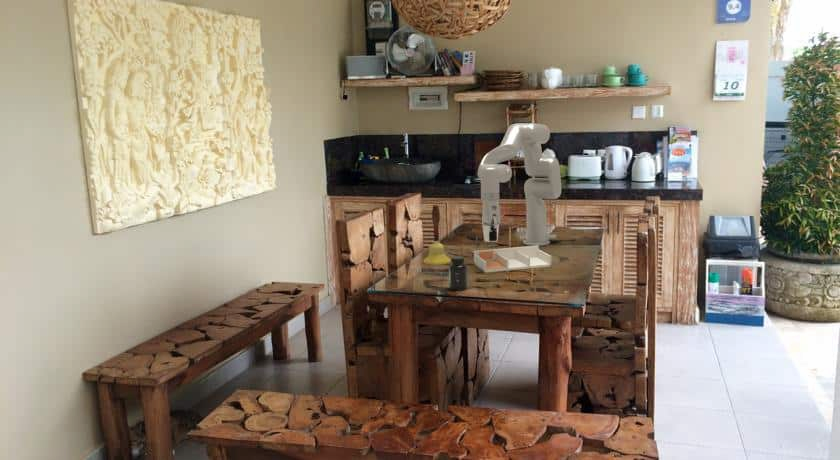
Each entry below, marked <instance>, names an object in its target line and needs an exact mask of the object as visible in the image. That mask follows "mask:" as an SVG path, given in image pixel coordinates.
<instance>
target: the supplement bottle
mask: <svg viewBox="0 0 840 460" xmlns="http://www.w3.org/2000/svg"><path fill="white" fill-rule="evenodd" d="M450 259H451V262H450V263H451V264H450V265H449V266H448V277H449V279H448V283H449V284H448V285H449V289H450V290H451V289H452V291H456V290H460V291H465V290H467V289H468V266H467V264H466V263H465V257H464V256H463V255H462V256H460V255H459V256H451V258H450ZM464 289H465V290H464Z"/></svg>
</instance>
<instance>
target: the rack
mask: <svg viewBox="0 0 840 460" xmlns="http://www.w3.org/2000/svg"><path fill="white" fill-rule="evenodd" d="M539 247H540V246H538V245H537V246H531V245H526V246H517V247H515V246H513V247H503V248H492V249H480V250H473V265H474V266H475V267H477V268H478V269H479V270H481V271H482V272H483V273H485V274H486V273H496V272H504V271H505V272H507V271H517V270H528V269H529V270H530V269H540V268H548V267H549V268H550V267H552V255H550V254H549V253H546V252H545V251H543V250H540V248H539Z"/></svg>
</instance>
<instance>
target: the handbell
mask: <svg viewBox="0 0 840 460" xmlns="http://www.w3.org/2000/svg"><path fill="white" fill-rule="evenodd" d="M431 209H432V210H431V220H432V224H433V243H432V244H430V245H429V247H428V248H429V249H428V250H429V252H428V254H427V256H426V258H424V259H423V263H424V264H428V265H443V264H449V263H451V258H450V257H448V256H447V255H446V253H445V246H444V244H442V243H441V242H440V232H439V230H440V229H439V224H440V220H441V219H440V217H441V216H440V209H439V205H438V204H433V206H432V208H431Z"/></svg>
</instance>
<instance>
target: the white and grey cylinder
mask: <svg viewBox="0 0 840 460" xmlns="http://www.w3.org/2000/svg"><path fill="white" fill-rule="evenodd" d="M491 224H494V223H491ZM499 226H500V224H498V226H497V241H489V232H490V226H489V224H484V223H482V233H483V241H484V242H486V243H496V242H498V241H499V240H498V239H499V228H500V227H499Z"/></svg>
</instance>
